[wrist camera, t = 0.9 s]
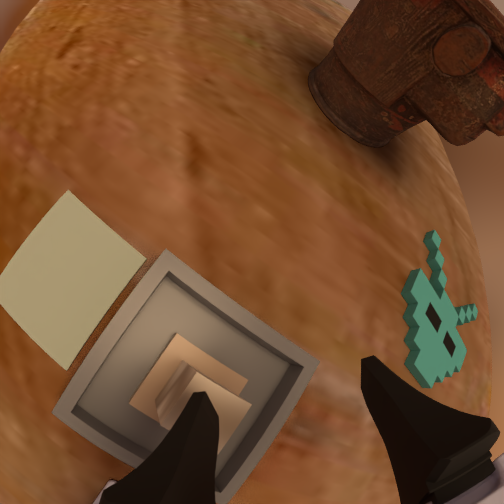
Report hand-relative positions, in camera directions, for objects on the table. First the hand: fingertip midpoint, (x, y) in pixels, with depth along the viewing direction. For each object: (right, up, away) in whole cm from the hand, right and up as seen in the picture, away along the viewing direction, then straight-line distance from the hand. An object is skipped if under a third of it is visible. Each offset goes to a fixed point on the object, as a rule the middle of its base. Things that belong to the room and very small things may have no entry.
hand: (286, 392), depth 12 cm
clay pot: (+16, +29, +29) cm, 44 cm away
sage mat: (-17, +4, +8) cm, 20 cm away
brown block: (-6, -5, +8) cm, 11 cm away
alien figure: (+27, -4, +25) cm, 37 cm away
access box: (-7, -5, +10) cm, 13 cm away
